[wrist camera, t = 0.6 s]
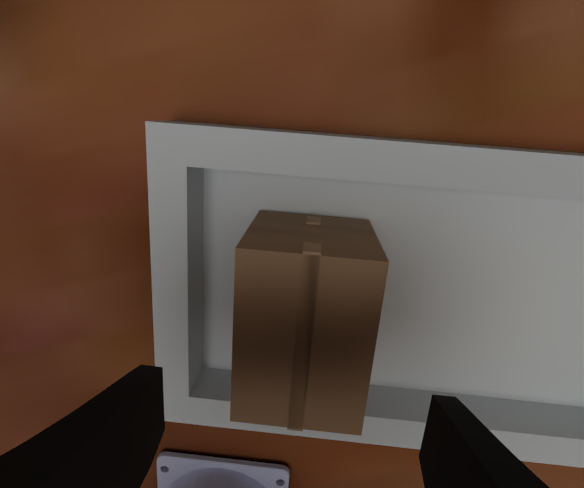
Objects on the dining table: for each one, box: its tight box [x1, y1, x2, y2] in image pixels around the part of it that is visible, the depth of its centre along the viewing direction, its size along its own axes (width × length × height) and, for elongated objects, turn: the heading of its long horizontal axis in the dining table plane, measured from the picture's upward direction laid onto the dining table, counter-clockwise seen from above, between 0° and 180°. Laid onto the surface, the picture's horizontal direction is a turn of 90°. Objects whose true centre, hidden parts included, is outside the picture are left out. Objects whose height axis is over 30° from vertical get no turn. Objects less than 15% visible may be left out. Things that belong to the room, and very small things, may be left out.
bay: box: [145, 121, 584, 468], centre depth 18 cm, size 14×25×3 cm, turn 86°
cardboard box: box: [230, 210, 389, 436], centre depth 16 cm, size 7×5×6 cm
